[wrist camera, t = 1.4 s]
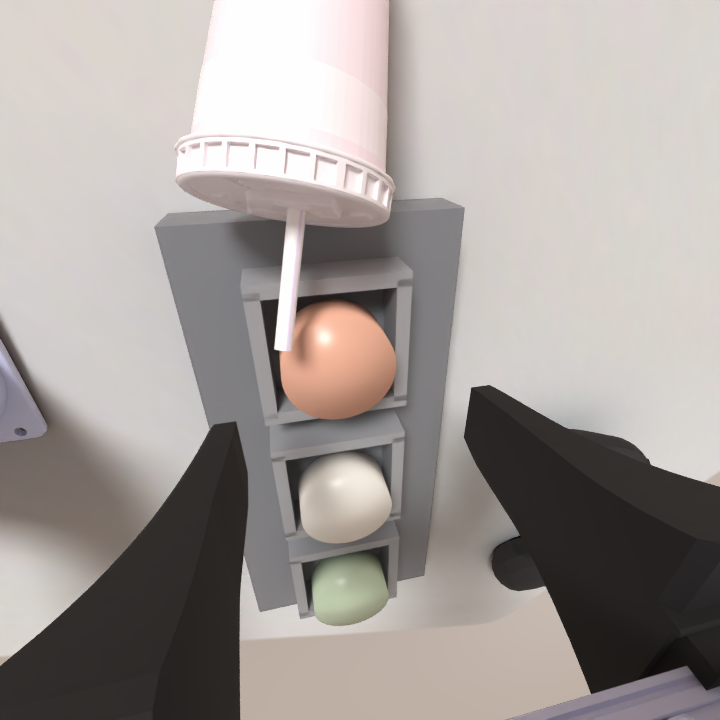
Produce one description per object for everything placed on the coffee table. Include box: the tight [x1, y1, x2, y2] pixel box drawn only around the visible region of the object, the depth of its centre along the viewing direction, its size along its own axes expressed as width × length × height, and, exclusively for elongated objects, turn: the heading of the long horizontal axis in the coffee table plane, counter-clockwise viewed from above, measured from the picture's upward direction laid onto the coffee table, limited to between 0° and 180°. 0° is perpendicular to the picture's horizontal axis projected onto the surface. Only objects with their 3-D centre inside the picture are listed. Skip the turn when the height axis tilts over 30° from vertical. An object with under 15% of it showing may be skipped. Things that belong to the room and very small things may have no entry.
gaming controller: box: [491, 429, 651, 591], centre depth 30 cm, size 17×6×10 cm
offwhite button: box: [298, 450, 392, 543], centre depth 20 cm, size 4×4×2 cm
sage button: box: [311, 550, 389, 626], centre depth 24 cm, size 4×4×2 cm
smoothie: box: [174, 0, 396, 351], centre depth 12 cm, size 6×6×14 cm
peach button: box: [279, 299, 396, 420], centre depth 16 cm, size 4×4×2 cm
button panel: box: [154, 198, 465, 619], centre depth 22 cm, size 12×26×4 cm, turn 1°
